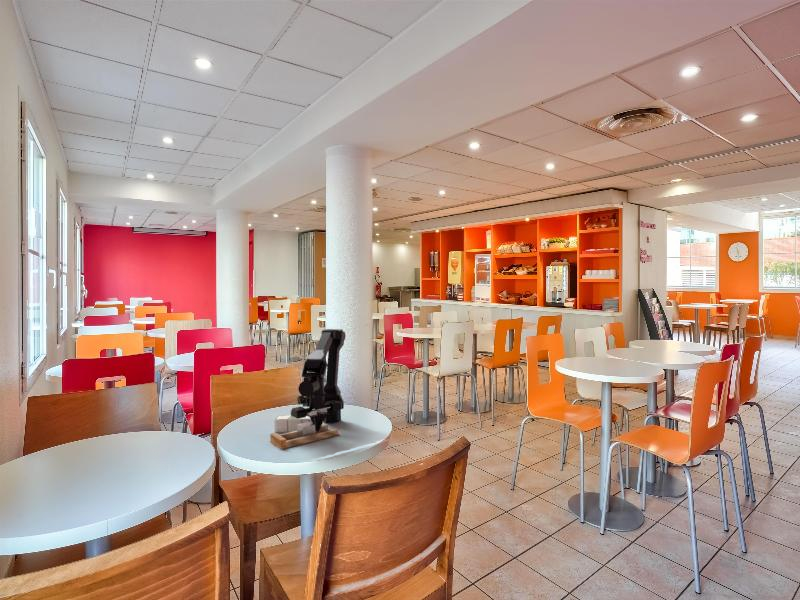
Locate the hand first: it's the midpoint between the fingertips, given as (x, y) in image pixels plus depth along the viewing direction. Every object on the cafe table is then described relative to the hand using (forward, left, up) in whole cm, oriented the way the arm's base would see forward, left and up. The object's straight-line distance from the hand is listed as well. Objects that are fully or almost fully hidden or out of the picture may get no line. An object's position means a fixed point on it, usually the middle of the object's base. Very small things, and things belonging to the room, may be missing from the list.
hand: (317, 431), depth 171 cm
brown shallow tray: (+5, 0, -2) cm, 6 cm away
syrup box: (+9, -17, +1) cm, 19 cm away
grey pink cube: (+5, 0, -1) cm, 5 cm away
